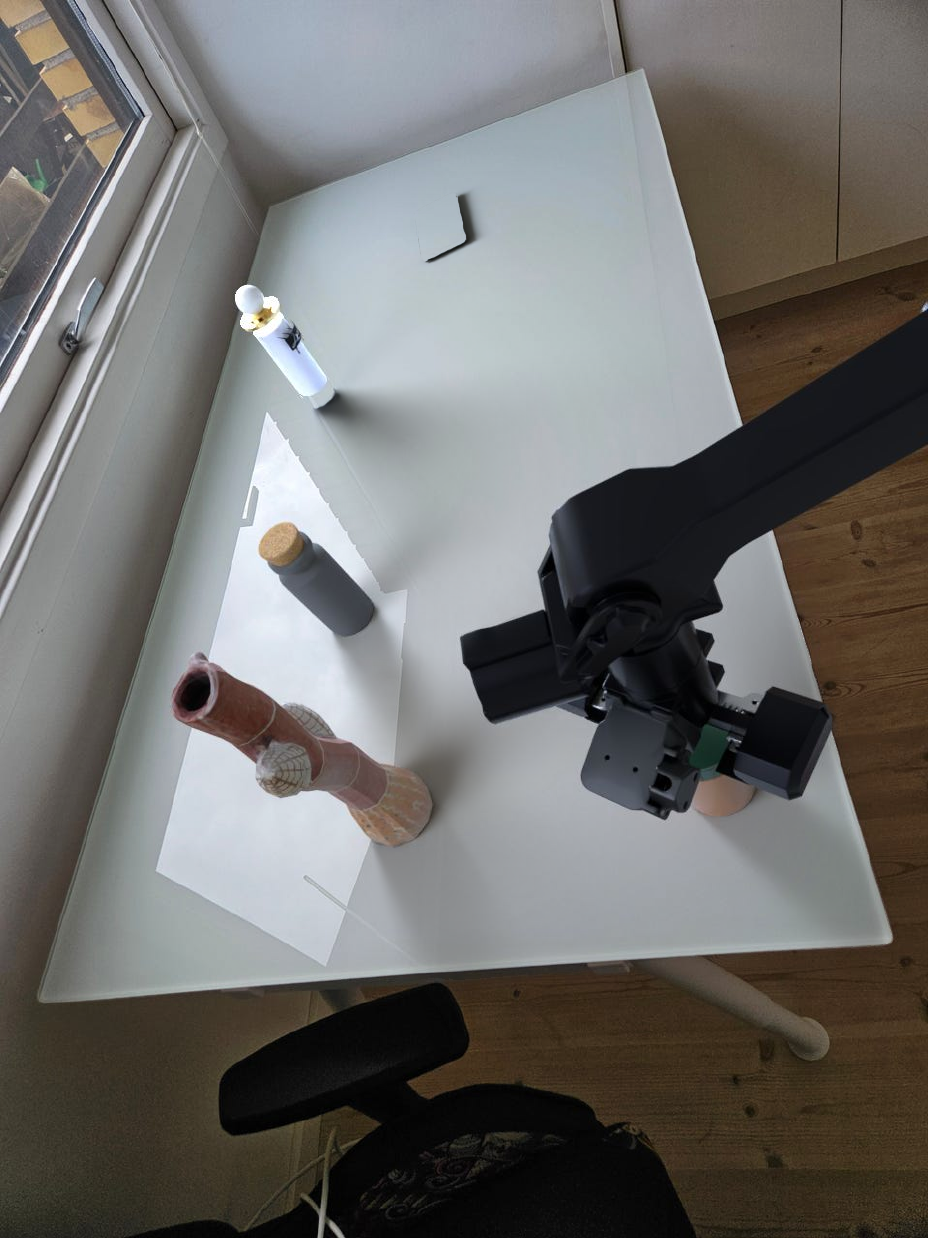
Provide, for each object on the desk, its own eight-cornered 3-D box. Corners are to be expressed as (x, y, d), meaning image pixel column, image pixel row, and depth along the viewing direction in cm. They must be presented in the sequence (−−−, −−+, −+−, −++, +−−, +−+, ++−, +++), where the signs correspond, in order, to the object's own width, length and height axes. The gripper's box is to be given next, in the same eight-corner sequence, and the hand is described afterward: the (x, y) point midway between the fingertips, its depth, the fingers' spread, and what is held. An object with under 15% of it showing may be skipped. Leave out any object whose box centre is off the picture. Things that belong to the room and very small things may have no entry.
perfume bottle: (304, 419, 118) (218, 310, 103) (310, 392, 121) (227, 281, 106) (338, 409, 116) (255, 295, 101) (343, 381, 119) (264, 267, 104)
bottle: (321, 618, 96) (244, 545, 84) (358, 585, 96) (286, 507, 85) (344, 646, 92) (267, 573, 80) (382, 611, 92) (311, 534, 81)
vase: (365, 777, 82) (161, 630, 59) (431, 760, 79) (246, 600, 56) (365, 882, 75) (138, 764, 53) (437, 867, 73) (232, 736, 50)
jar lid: (658, 700, 64) (651, 687, 62) (746, 700, 61) (741, 686, 59) (651, 780, 60) (644, 769, 59) (744, 784, 58) (739, 772, 56)
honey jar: (772, 781, 65) (756, 730, 58) (718, 832, 65) (695, 788, 57) (717, 734, 69) (695, 681, 62) (665, 782, 69) (638, 734, 61)
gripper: (469, 712, 53) (547, 795, 65) (746, 835, 42) (779, 908, 54) (550, 575, 56) (610, 678, 68) (828, 656, 45) (842, 762, 57)
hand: (699, 751), depth 61 cm, fingers closed on jar lid, 6 cm apart
